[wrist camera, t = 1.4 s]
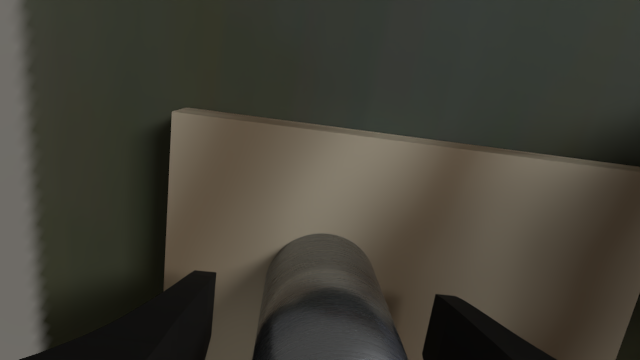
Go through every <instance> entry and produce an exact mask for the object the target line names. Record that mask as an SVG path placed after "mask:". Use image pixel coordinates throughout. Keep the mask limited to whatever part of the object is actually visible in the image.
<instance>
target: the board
mask: <svg viewBox="0 0 640 360" xmlns="http://www.w3.org/2000/svg"><path fill="white" fill-rule="evenodd" d="M318 233H324V234H333V235H337V236H341V237H343V238H346V239H348V240H350V241H351V242H353V243H355V244H356V245H357V246H358V247H359V248H361V249H362V251H363V252H364V253H365V254H366V256H367V257H368V258H369V260H370V262H371V264H372V267H373V269H374V272H375V275H376V277H377V280H378V282H379V285H380V288H381V290H382V293H383V295H384V298H385V301H386V303H387V306H388V308H389V311H390V313H391V316H392V319H393V321H394V324H395V326H396V329H397V332H398V334H399V337H400V339H401V342H402V345H403V347H404V350H405V352H406V355H407V358H408V360H423V356H422V351H423V347H424V342H425V338H426V334H427V329H428V325H429V320H430V316H431V312H432V307H433V303H434V298H435V294H441V295H452V296H457V297H459V298H461V299H463V300H464V301H466V302H468V303H469V304H471V305H472V306H474V307H476V308H477V309H479V310H480V311H482V312H483V313H485V314H486V315H488V316H489V317H491V318H492V319H494V320H495V321H497V322H498V323H500V324H501V325H503V326H504V327H506V328H507V329H509V330H510V331H512V332H513V333H515V334H516V335H518V336H519V337H521V338H522V339H524V340H526V341H527V342H529V343H530V344H532V345H534V346H535V347H537V348H539V349H540V350H542V351H544V352H545V353H547V354H548V355H550V356H552V357H554V358H555V359H557V360H616V357H617V354H618V352H619V349H620V346H621V343H622V341H623V338H624V335H625V332H626V329H627V327H628V324H629V321H630V318H631V316H632V313H633V310H634V307H635V305H636V302H637V299H638V296H639V294H640V167H638V166H630V165H623V164H615V163H607V162H600V161H592V160H584V159H577V158H569V157H561V156H554V155H546V154H539V153H531V152H523V151H516V150H508V149H500V148H493V147H485V146H477V145H470V144H462V143H454V142H447V141H439V140H431V139H424V138H416V137H409V136H401V135H393V134H386V133H378V132H370V131H363V130H355V129H347V128H340V127H332V126H324V125H317V124H309V123H302V122H294V121H286V120H279V119H271V118H263V117H256V116H248V115H240V114H233V113H225V112H217V111H210V110H202V109H194V108H183V109H180V110H176V111H172V121H171V143H170V164H169V185H168V207H167V228H166V249H165V271H164V291H165V290H167V289H168V288H170V287H171V286H172V285H174V284H175V283H177V282H178V281H180V280H181V279H182V278H184V277H185V276H187V275H188V274H190V273H191V272H193V271H194V270H198V271H208V272H216V284H215V297H214V309H213V321H212V334H211V339H210V343H209V347H208V350H207V354H206V358H205V360H252V358H253V352H254V346H255V339H256V333H257V327H258V321H259V315H260V309H261V303H262V297H263V291H264V285H265V279H266V274H267V270H268V268H269V265H270V263H271V261H272V260H273V258H274V257H275V255H276V254H277V253H278V252H279V251H280V250H281V249H282V248H283V247H284V246H285V245H287V244H288V243H290V242H291V241H293V240H295V239H297V238H300V237H303V236H306V235H310V234H318Z"/></svg>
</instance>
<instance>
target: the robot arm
mask: <svg viewBox="0 0 640 360" xmlns="http://www.w3.org/2000/svg"><path fill="white" fill-rule="evenodd" d="M215 284H216V272H208V271H198V270H194V271H193V272H191V273H190V274H188V275H187V276H185V277H184V278H182V279H181V280H180V281H178V282H177V283H175V284H174V285H172V286H171V287H170V288H168V289H167V290H165V291H164V292H162V293H161V294H159V295H158V296H156V297H155V298H153V299H152V300H150V301H148V302H147V303H145V304H143V305H142V306H140V307H138V308H137V309H135V310H133V311H131V312H130V313H128V314H126V315H125V316H123V317H121V318H119V319H117V320H116V321H114V322H112V323H110V324H108V325H106V326H104V327H101V328H99V329H97V330H95V331H93V332H91V333H89V334H86V335H84V336H82V337H80V338H77V339H74V340H72V341H69V342H67V343H64V344H62V345H59V346H56V347H54V348H51V349H49V350H46V351H43V352H41V353H38V354H35V355H32V356H29V357H26V358H23V359H20V360H205V358H206V354H207V350H208V347H209V343H210V339H211V334H212V321H213V309H214V297H215ZM422 356H423V360H557V359H555V358H554V357H552V356H550V355H548V354H547V353H545V352H544V351H542V350H540V349H539V348H537V347H535V346H534V345H532V344H530V343H529V342H527V341H526V340H524V339H522V338H521V337H519V336H518V335H516V334H515V333H513V332H512V331H510V330H509V329H507V328H506V327H504V326H503V325H501V324H500V323H498V322H497V321H495V320H494V319H492V318H491V317H489V316H488V315H486V314H485V313H483V312H482V311H480V310H479V309H477V308H476V307H474V306H472V305H471V304H469V303H468V302H466V301H464V300H463V299H461V298H459V297H457V296H452V295H441V294H435V298H434V303H433V307H432V312H431V316H430V320H429V325H428V329H427V334H426V338H425V342H424V347H423V351H422Z"/></svg>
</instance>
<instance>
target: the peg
mask: <svg viewBox="0 0 640 360" xmlns="http://www.w3.org/2000/svg"><path fill="white" fill-rule="evenodd" d="M252 360H408V358H407V355H406V352H405V350H404V347H403V345H402V342H401V339H400V337H399V334H398V332H397V329H396V326H395V324H394V321H393V319H392V316H391V313H390V311H389V308H388V306H387V303H386V301H385V298H384V295H383V293H382V290H381V288H380V285H379V282H378V280H377V277H376V275H375V272H374V269H373V267H372V264H371V262H370V260H369V258H368V257H367V256H366V254H365V253H364V252H363V251H362V249H361V248H359V247H358V246H357V245H356V244H355V243H353V242H351V241H350V240H348V239H346V238H343V237H341V236H337V235H333V234H324V233H318V234H310V235H306V236H303V237H300V238H297V239H295V240H293V241H291V242H290V243H288V244H287V245H285V246H284V247H283V248H282V249H281V250H280V251H279V252H278V253H277V254H276V255H275V257H274V258H273V260H272V261H271V263H270V265H269V268H268V270H267V274H266V279H265V285H264V291H263V297H262V303H261V309H260V315H259V321H258V327H257V333H256V339H255V346H254V352H253V358H252Z"/></svg>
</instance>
